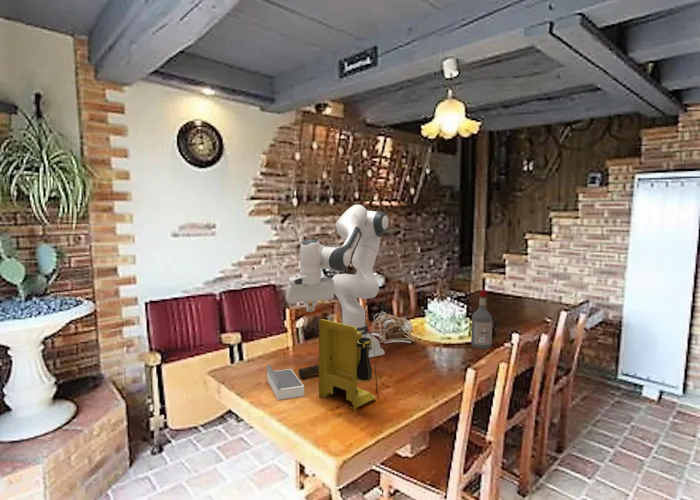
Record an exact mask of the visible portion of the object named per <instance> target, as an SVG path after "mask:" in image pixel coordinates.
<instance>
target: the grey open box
mask: <svg viewBox="0 0 700 500" xmlns="http://www.w3.org/2000/svg"><path fill="white" fill-rule="evenodd" d="M266 370H267V371H266V374H267V379H266V380H267V382H268V385H269V386H270V388H271V390H272V392H273V393H274V395H275V397H276V399H277V401H280V400H282V401H283V400H287V399H294V398H295V399H296V398H301V397H305V385H304V384H303V383H302V381H301V380H300V379H299V377H298V376H297V375H296V373H295V372H294V371H293V369H292V368H289V369H287V368H285V369H280V370H274V369H273V367H272V366H271V364H267V367H266Z"/></svg>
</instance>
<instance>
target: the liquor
mask: <svg viewBox="0 0 700 500" xmlns="http://www.w3.org/2000/svg"><path fill="white" fill-rule="evenodd" d="M487 292H488V290H485V289H479V293H478V294H479V300H478V301H479V303H478V308H477V309H476V311H475V312H473V314H472V315H471V334H470V335H471V338H470V341H471V343H470V344H471V346H472V347H473V348H476V349H491V348H492V346H493V345H492V343H493V322H494V321H493V316H492V315H491V314H490V312H489V311H488V309H487Z"/></svg>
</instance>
